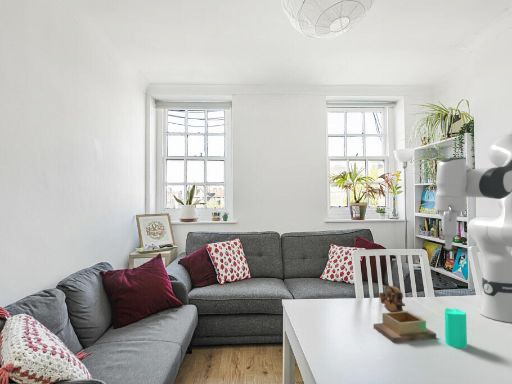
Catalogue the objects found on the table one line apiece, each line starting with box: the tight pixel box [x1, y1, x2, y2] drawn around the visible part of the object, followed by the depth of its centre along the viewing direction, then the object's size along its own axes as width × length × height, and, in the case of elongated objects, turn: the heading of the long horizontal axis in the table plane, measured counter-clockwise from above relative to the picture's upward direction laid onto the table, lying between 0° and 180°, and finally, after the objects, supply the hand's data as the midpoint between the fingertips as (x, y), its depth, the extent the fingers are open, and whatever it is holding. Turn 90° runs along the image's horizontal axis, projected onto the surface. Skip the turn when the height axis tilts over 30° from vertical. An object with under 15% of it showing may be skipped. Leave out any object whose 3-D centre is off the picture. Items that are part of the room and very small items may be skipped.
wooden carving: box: [379, 285, 406, 312], centre depth 135 cm, size 16×5×10 cm, turn 11°
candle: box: [444, 308, 468, 349], centre depth 104 cm, size 6×6×12 cm
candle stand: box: [373, 310, 437, 344], centre depth 112 cm, size 16×12×6 cm
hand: (448, 247), depth 107 cm, fingers open, 8 cm apart
